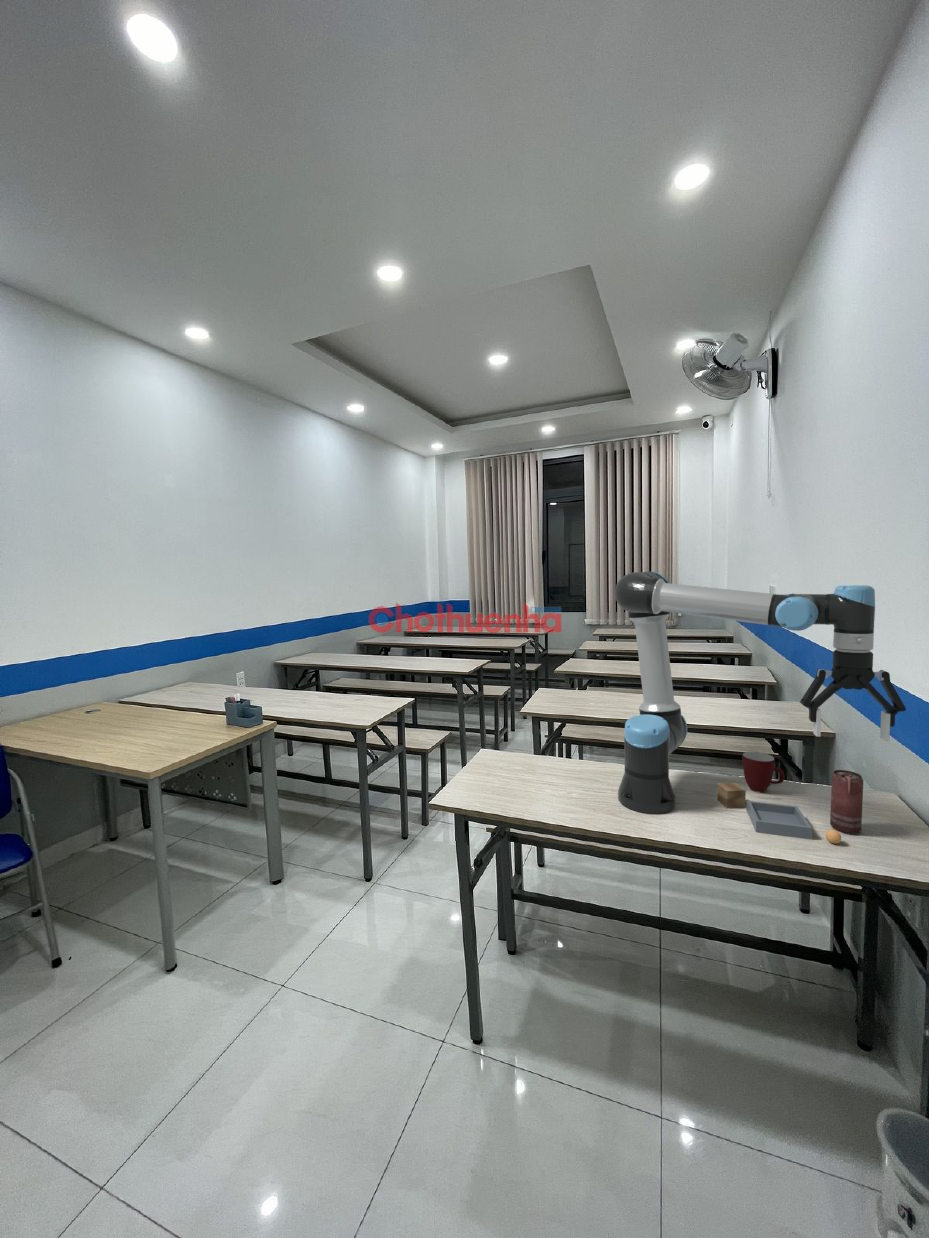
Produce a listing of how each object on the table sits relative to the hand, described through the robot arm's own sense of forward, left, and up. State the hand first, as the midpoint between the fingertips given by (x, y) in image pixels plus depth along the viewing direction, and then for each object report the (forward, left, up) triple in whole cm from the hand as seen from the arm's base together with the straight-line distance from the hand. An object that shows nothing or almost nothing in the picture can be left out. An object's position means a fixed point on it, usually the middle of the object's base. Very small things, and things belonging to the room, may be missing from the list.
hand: (850, 737), depth 118 cm
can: (0, 0, -23) cm, 23 cm away
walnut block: (-24, +7, -23) cm, 34 cm away
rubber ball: (-5, -8, -22) cm, 24 cm away
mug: (-14, +19, -23) cm, 33 cm away
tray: (-15, -2, -23) cm, 28 cm away
